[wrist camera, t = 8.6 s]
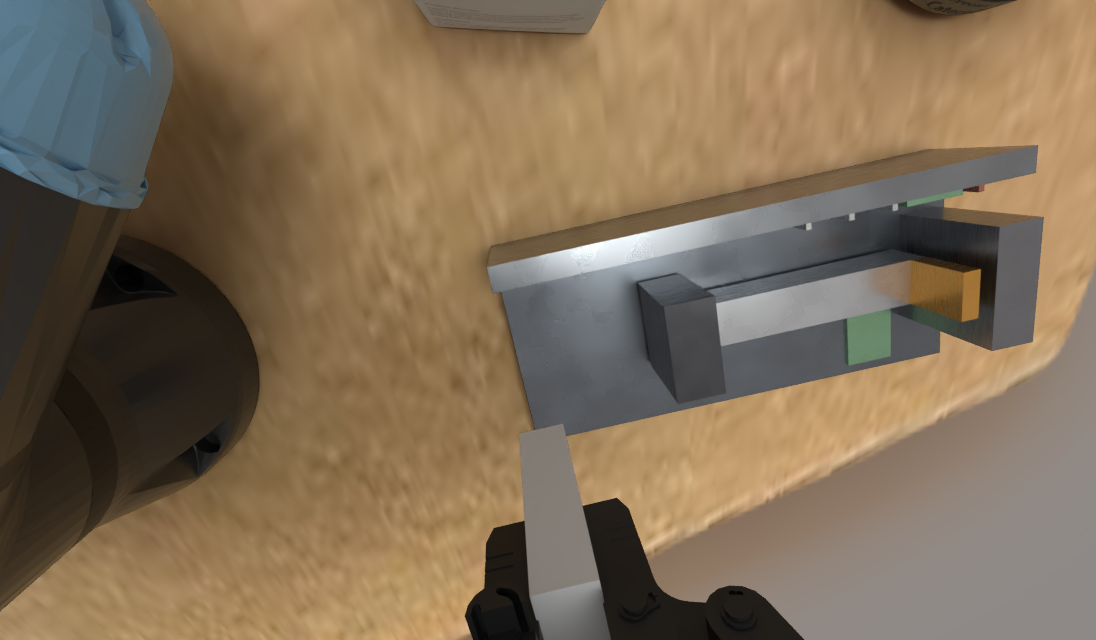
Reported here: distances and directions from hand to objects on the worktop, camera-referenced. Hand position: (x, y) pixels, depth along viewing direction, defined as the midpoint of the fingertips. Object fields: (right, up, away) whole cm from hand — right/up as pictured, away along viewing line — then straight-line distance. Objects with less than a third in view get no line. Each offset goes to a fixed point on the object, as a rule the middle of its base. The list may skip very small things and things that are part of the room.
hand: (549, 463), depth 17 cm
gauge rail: (+10, +6, +13) cm, 18 cm away
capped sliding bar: (+12, +6, +12) cm, 18 cm away
